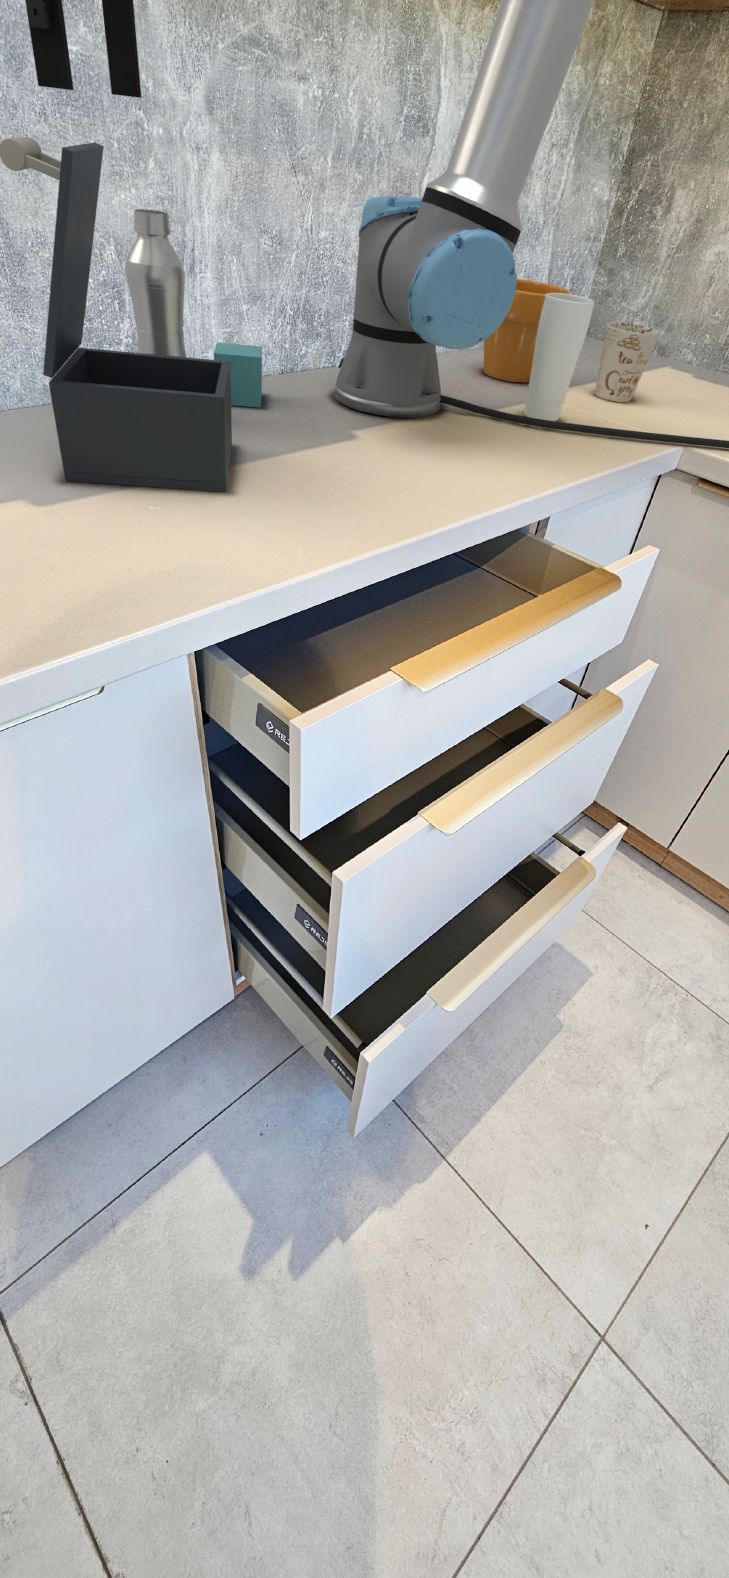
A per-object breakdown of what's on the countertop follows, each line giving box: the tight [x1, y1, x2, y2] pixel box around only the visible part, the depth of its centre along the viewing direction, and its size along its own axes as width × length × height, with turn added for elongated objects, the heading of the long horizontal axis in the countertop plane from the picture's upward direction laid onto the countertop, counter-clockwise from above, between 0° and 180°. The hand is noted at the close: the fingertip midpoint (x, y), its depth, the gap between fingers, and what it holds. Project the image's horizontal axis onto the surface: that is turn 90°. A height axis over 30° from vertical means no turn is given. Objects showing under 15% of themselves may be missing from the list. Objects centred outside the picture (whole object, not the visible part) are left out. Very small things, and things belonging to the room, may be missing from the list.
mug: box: [594, 321, 660, 403], centre depth 120 cm, size 8×13×10 cm, turn 158°
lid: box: [0, 136, 104, 379], centre depth 66 cm, size 17×14×6 cm
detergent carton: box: [213, 341, 263, 409], centre depth 97 cm, size 6×6×6 cm
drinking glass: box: [523, 293, 595, 422], centre depth 103 cm, size 7×7×15 cm
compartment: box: [48, 347, 233, 493], centre depth 76 cm, size 16×14×9 cm
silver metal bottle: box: [124, 208, 187, 357], centre depth 85 cm, size 6×7×20 cm
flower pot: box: [483, 278, 573, 383], centre depth 121 cm, size 14×14×13 cm
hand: (94, 93), depth 65 cm, fingers open, 13 cm apart
